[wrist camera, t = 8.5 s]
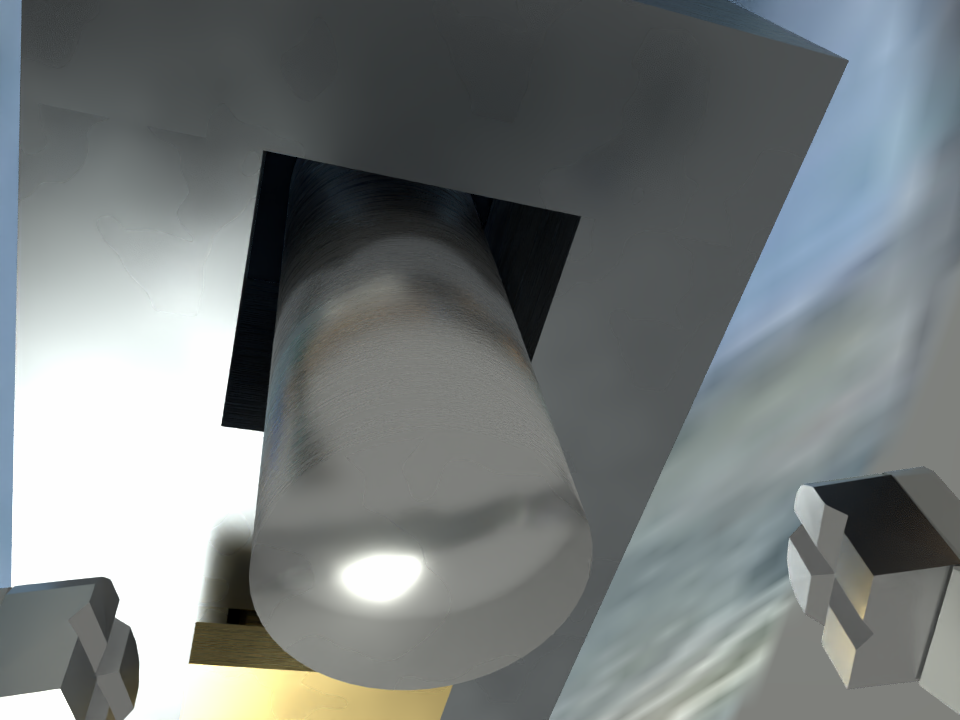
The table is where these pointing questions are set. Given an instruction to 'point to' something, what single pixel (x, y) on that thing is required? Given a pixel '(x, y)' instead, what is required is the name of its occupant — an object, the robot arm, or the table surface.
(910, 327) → the table surface
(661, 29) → the socket block
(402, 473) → the metal cylinder
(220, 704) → the wooden tenon block
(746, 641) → the table surface
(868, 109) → the table surface
